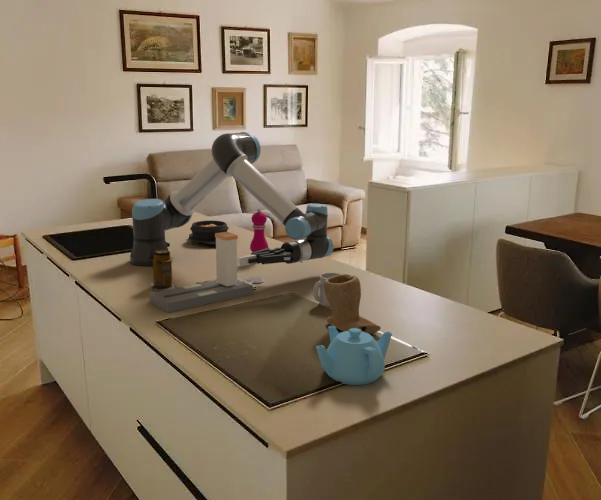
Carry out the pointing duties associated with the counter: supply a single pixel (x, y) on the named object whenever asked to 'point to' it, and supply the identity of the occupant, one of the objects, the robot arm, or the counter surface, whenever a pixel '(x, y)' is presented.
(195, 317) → the counter surface
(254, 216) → the pepper mill
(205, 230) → the casserole
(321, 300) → the cup
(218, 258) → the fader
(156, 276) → the condiment
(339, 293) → the brown boot
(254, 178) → the robot arm
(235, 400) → the counter surface
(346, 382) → the teapot
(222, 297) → the console
